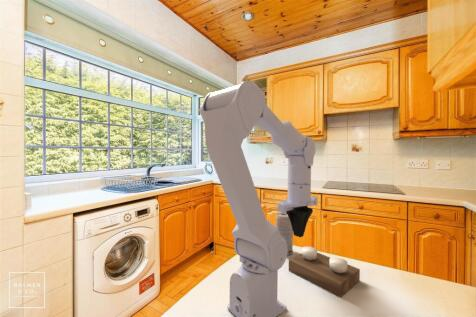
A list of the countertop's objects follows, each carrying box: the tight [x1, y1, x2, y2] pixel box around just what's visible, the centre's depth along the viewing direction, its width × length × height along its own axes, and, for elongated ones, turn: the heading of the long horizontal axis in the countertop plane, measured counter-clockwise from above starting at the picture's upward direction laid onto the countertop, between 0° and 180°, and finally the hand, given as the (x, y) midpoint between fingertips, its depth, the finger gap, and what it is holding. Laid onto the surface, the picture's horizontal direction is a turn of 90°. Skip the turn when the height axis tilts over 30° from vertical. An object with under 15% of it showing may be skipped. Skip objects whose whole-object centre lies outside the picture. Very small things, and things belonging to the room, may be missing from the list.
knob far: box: [301, 246, 318, 261], centre depth 58 cm, size 4×4×5 cm
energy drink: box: [275, 212, 294, 256], centre depth 69 cm, size 5×5×12 cm
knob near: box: [329, 256, 348, 274], centre depth 52 cm, size 4×4×5 cm
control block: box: [288, 252, 361, 299], centre depth 55 cm, size 10×14×3 cm
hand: (298, 235), depth 55 cm, fingers closed
